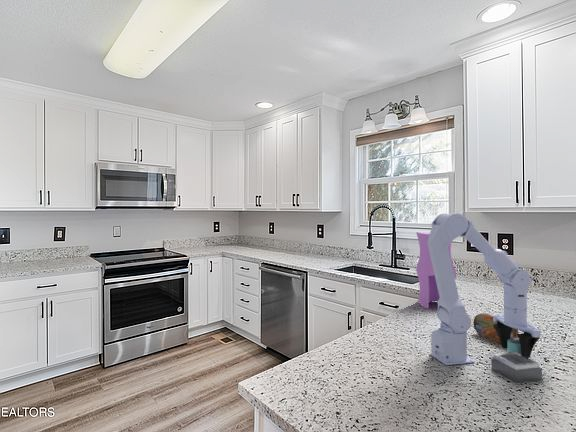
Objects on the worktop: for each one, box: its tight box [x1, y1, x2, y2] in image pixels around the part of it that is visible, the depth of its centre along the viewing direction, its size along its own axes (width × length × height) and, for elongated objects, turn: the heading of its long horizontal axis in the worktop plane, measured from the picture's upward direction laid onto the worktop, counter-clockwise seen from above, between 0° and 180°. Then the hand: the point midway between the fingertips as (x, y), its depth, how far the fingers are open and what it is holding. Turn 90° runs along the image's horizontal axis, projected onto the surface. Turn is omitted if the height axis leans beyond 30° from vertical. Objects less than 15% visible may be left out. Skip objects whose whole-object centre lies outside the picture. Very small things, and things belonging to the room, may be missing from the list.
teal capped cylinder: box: [506, 338, 521, 355], centre depth 98 cm, size 4×4×6 cm
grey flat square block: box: [491, 352, 543, 384], centre depth 89 cm, size 8×8×4 cm
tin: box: [472, 313, 519, 345], centre depth 113 cm, size 15×3×8 cm, turn 21°
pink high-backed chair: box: [415, 231, 457, 309], centre depth 157 cm, size 14×14×35 cm
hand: (515, 352), depth 98 cm, fingers open, 6 cm apart
